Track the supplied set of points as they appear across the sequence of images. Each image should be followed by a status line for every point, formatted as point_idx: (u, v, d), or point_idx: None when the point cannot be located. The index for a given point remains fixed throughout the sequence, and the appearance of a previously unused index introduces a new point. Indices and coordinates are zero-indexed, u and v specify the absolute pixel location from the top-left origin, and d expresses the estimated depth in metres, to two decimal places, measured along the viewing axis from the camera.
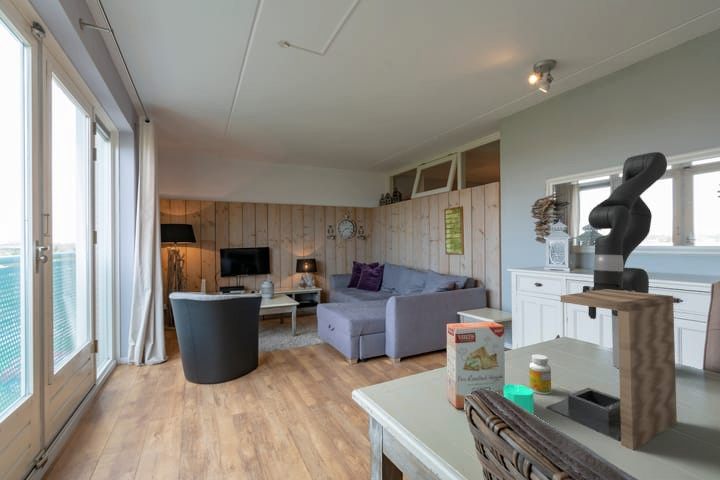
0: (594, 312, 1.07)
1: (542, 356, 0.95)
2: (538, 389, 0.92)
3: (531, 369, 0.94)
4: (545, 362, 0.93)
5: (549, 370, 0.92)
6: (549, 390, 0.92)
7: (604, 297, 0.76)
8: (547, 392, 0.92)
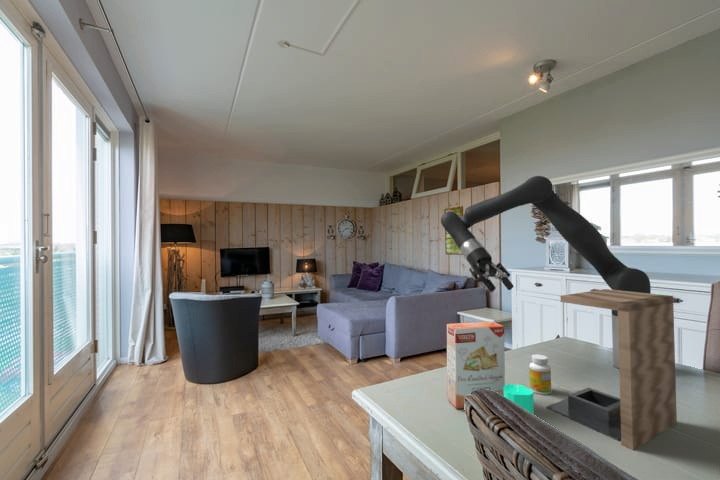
0: (507, 283, 1.12)
1: (542, 356, 0.95)
2: (538, 389, 0.92)
3: (531, 369, 0.94)
4: (545, 362, 0.93)
5: (549, 370, 0.92)
6: (549, 390, 0.92)
7: (604, 297, 0.76)
8: (547, 392, 0.92)
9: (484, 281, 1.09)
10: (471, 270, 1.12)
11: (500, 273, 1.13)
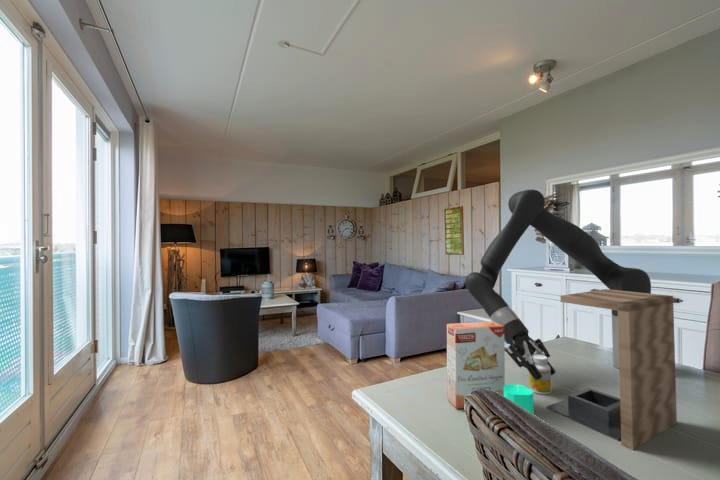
0: None
1: (542, 356, 0.95)
2: (538, 389, 0.92)
3: None
4: (545, 362, 0.93)
5: (549, 370, 0.92)
6: (549, 390, 0.92)
7: (604, 297, 0.76)
8: (547, 392, 0.92)
9: (527, 366, 0.93)
10: (509, 352, 0.96)
11: (538, 353, 0.97)
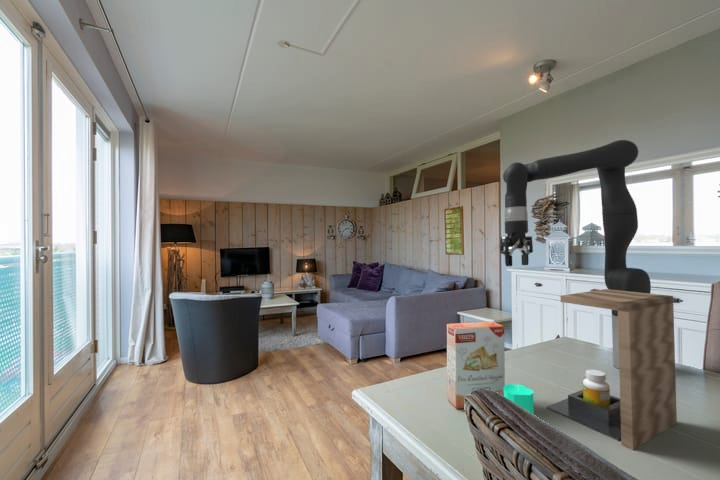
0: (524, 259, 1.19)
1: (598, 372, 0.82)
2: None
3: (586, 387, 0.81)
4: (604, 379, 0.80)
5: (608, 388, 0.79)
6: None
7: (604, 297, 0.76)
8: None
9: (506, 255, 1.15)
10: (502, 240, 1.15)
11: (525, 249, 1.18)
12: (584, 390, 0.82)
